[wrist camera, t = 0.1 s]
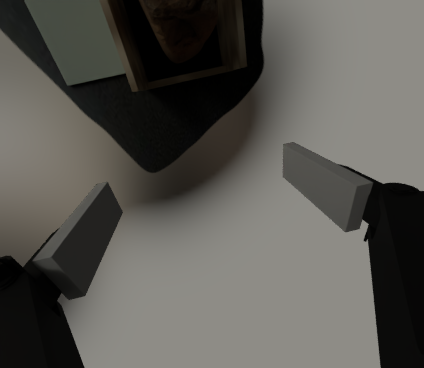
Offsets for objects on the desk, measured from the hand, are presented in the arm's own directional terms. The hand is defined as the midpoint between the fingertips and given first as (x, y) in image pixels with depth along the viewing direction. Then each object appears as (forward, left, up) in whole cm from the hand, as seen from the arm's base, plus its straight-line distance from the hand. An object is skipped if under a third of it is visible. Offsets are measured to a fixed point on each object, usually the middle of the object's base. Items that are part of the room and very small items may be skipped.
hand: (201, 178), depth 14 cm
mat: (-16, -13, -28) cm, 35 cm away
